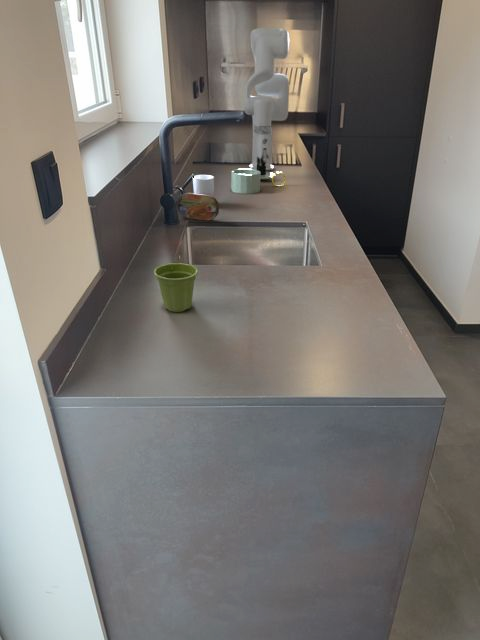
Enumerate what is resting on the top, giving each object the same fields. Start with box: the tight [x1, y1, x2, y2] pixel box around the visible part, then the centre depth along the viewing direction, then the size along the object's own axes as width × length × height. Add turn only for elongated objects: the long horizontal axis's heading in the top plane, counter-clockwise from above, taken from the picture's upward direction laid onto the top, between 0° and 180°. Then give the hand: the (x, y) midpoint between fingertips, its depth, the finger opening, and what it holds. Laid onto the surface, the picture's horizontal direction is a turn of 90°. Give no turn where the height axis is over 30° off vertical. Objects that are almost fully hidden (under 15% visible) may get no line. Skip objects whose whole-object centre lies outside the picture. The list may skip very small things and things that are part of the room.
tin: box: [176, 192, 220, 222], centre depth 169 cm, size 15×3×8 cm, turn 70°
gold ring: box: [271, 171, 287, 188], centre depth 215 cm, size 6×3×6 cm, turn 95°
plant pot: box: [153, 262, 199, 313], centre depth 110 cm, size 9×9×9 cm
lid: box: [258, 163, 276, 180], centre depth 225 cm, size 13×13×6 cm
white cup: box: [192, 174, 215, 197], centre depth 185 cm, size 8×8×10 cm
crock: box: [230, 168, 261, 195], centre depth 206 cm, size 12×12×8 cm
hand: (261, 173), depth 225 cm, fingers closed on lid, 2 cm apart
